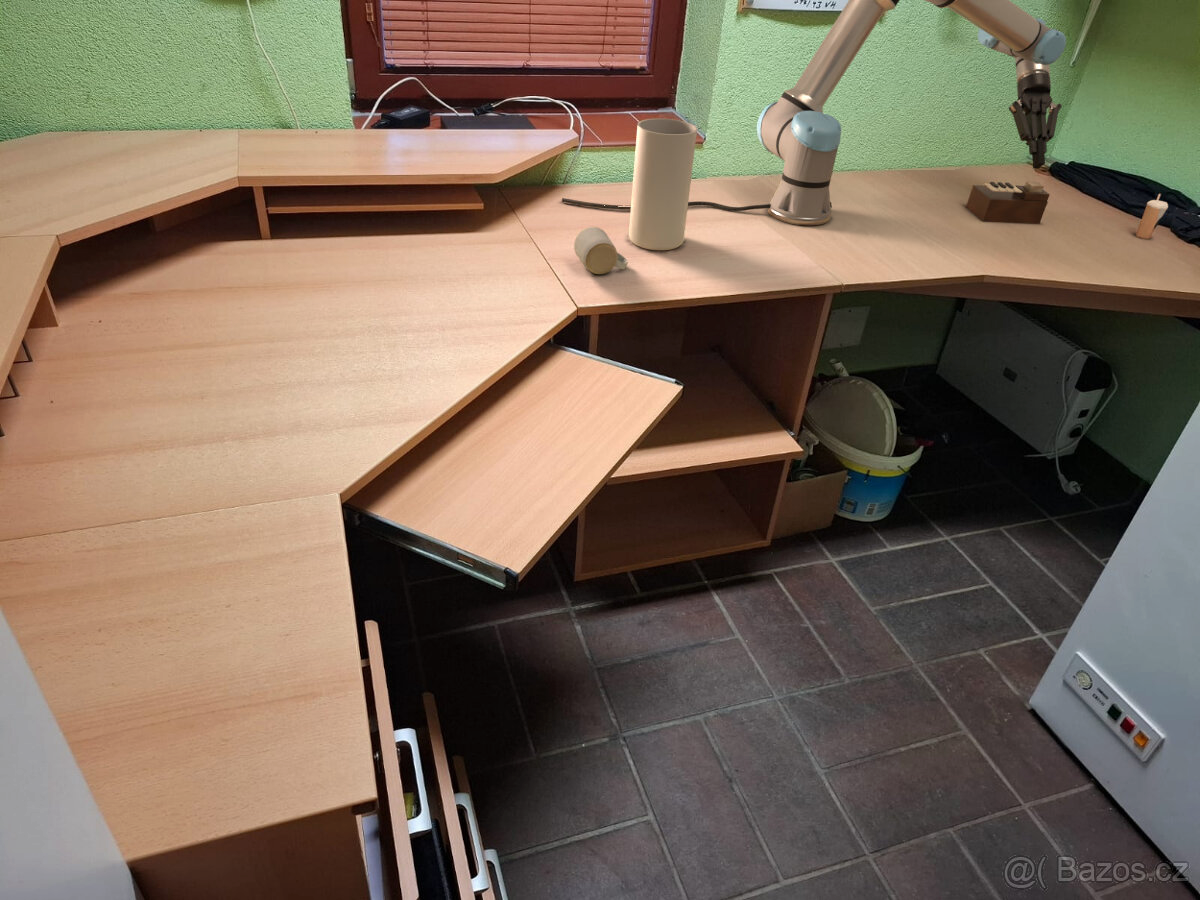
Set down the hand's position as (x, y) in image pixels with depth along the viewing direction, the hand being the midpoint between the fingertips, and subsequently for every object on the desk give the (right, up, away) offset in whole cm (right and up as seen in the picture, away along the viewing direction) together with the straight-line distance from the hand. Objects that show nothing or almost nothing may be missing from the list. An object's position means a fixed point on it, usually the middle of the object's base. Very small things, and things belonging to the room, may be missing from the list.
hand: (1039, 165), depth 204 cm
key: (0, -6, +3) cm, 6 cm away
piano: (-5, -10, +8) cm, 14 cm away
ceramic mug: (-110, -33, -34) cm, 120 cm away
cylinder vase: (-98, -24, -20) cm, 103 cm away
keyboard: (-8, -5, +2) cm, 10 cm away
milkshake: (+27, -17, +2) cm, 32 cm away
